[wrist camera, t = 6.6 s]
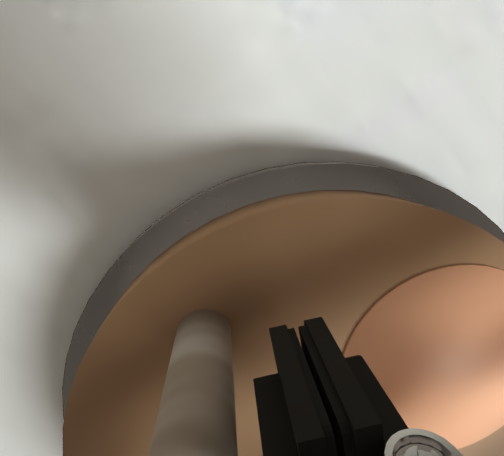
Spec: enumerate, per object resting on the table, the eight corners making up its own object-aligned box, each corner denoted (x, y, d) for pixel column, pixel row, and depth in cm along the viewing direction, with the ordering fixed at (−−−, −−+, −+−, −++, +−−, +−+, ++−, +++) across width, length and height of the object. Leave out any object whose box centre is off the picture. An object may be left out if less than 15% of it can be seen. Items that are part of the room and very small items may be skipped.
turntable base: (495, 547, 22) (552, 633, 18) (130, 611, 21) (109, 719, 17) (564, 138, 15) (682, 139, 11) (10, 189, 13) (-74, 211, 10)
